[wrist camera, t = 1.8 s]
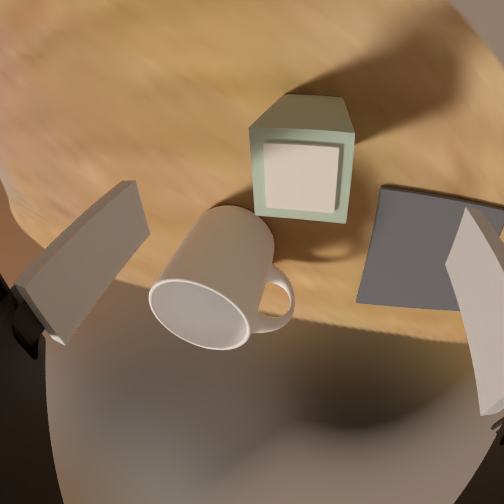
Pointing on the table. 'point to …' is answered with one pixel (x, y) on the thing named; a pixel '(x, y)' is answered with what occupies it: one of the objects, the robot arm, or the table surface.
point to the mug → (220, 281)
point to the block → (303, 159)
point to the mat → (415, 249)
